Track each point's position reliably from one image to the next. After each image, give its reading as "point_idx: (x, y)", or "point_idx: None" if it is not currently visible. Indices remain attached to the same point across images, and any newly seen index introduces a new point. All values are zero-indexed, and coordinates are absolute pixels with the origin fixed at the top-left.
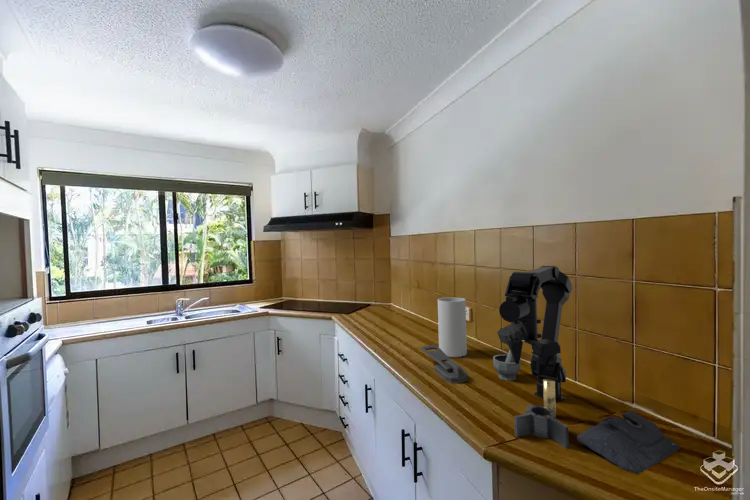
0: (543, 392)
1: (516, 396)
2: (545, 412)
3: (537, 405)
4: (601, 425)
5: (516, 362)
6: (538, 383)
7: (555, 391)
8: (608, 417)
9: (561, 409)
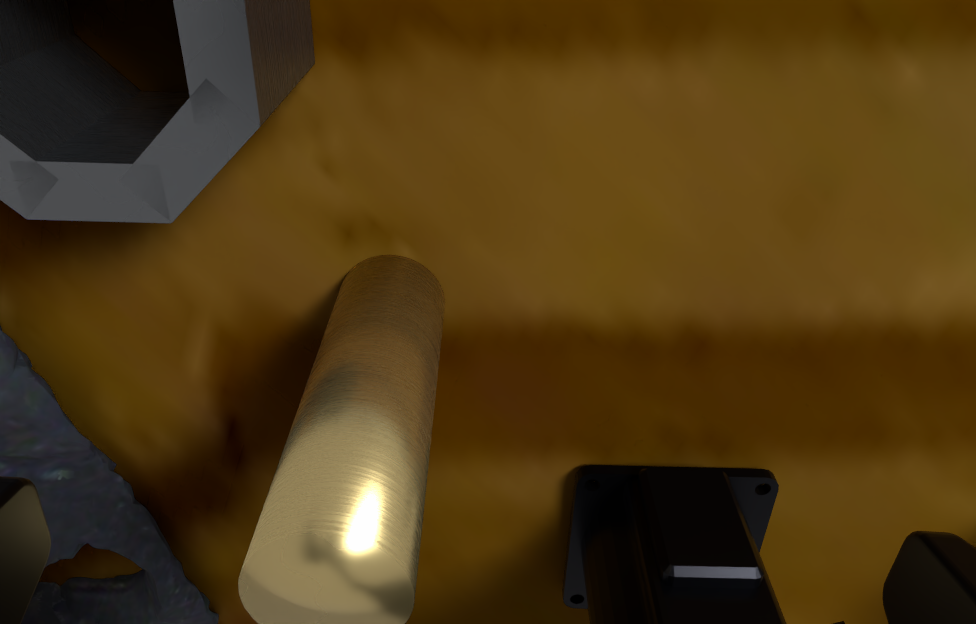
0: (392, 410)
1: (850, 304)
2: (136, 145)
3: (231, 140)
4: (58, 492)
5: (927, 570)
6: (735, 571)
7: (591, 596)
8: (163, 608)
9: (451, 463)
